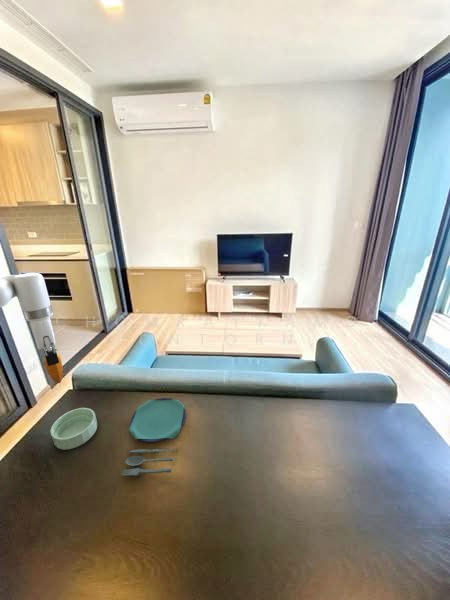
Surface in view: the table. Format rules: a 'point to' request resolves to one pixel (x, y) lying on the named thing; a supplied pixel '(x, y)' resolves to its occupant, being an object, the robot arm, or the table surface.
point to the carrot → (55, 369)
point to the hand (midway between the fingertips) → (52, 360)
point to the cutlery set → (155, 429)
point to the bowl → (74, 428)
